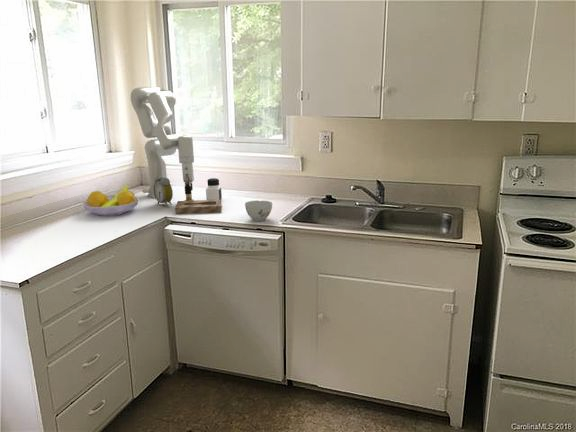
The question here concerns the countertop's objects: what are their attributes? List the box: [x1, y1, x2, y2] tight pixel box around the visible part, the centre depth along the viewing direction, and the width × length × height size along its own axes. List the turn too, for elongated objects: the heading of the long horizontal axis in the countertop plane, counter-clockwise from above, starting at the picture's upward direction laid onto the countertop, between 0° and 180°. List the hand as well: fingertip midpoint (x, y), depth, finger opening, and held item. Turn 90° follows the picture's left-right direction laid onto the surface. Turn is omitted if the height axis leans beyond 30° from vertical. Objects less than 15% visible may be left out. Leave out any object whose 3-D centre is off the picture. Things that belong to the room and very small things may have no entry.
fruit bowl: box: [81, 183, 139, 217], centre depth 236 cm, size 28×27×11 cm
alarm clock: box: [154, 176, 174, 208], centre depth 248 cm, size 12×7×15 cm, turn 41°
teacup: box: [244, 200, 273, 222], centre depth 221 cm, size 15×12×8 cm
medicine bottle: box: [205, 177, 223, 201], centre depth 257 cm, size 7×7×12 cm
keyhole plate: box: [174, 199, 222, 215], centre depth 239 cm, size 22×14×3 cm, turn 97°
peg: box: [183, 181, 195, 201], centre depth 252 cm, size 5×5×12 cm
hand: (189, 192), depth 252 cm, fingers open, 9 cm apart
